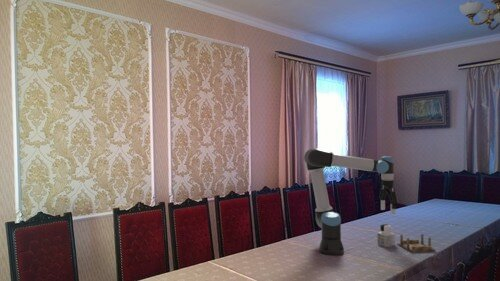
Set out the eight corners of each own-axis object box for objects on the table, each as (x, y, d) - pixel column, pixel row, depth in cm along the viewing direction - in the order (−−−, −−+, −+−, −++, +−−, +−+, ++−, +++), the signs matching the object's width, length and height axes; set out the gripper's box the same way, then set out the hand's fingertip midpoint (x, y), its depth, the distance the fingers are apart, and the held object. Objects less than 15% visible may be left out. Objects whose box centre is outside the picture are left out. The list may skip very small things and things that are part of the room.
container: (377, 243, 230) (376, 224, 230) (386, 242, 232) (386, 223, 232) (385, 246, 222) (385, 226, 222) (395, 245, 225) (394, 225, 225)
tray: (410, 252, 211) (409, 239, 211) (397, 244, 227) (396, 233, 227) (435, 251, 212) (434, 239, 212) (420, 243, 228) (420, 232, 228)
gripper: (402, 181, 217) (403, 215, 217) (384, 177, 242) (384, 208, 241) (391, 181, 216) (391, 215, 216) (373, 178, 241) (373, 208, 241)
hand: (387, 211), depth 229 cm, fingers open, 13 cm apart
